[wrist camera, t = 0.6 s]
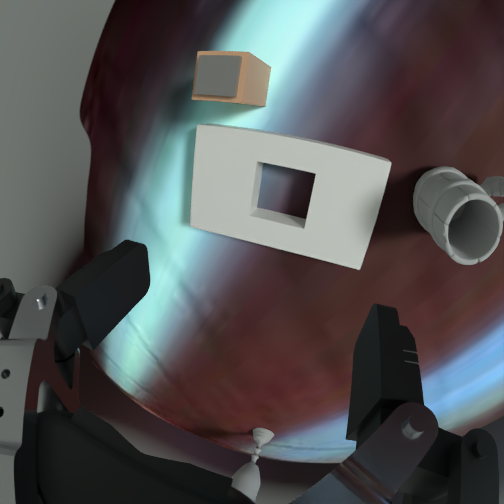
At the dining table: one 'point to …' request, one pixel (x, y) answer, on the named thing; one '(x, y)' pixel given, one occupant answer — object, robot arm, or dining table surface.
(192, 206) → the socket plate
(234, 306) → the dining table surface
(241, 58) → the plug
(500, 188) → the mug
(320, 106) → the dining table surface
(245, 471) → the chalice
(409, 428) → the robot arm
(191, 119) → the dining table surface
